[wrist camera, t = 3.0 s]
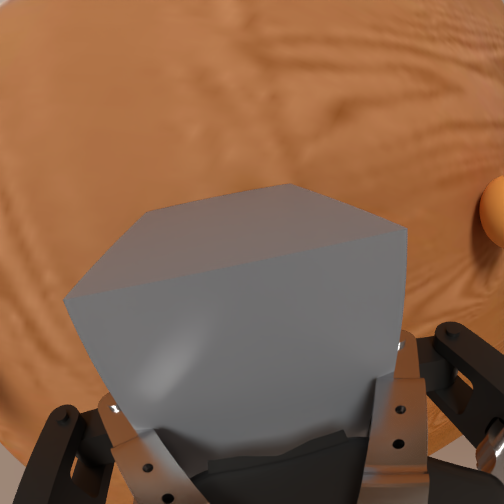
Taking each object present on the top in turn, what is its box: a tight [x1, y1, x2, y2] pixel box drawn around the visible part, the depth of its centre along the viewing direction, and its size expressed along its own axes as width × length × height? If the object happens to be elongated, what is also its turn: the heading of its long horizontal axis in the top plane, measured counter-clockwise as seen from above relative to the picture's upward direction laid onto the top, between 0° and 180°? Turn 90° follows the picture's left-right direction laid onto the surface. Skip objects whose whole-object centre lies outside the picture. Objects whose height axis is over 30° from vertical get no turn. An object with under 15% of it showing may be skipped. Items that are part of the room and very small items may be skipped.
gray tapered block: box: [63, 184, 407, 478], centre depth 11 cm, size 10×7×9 cm, turn 10°
